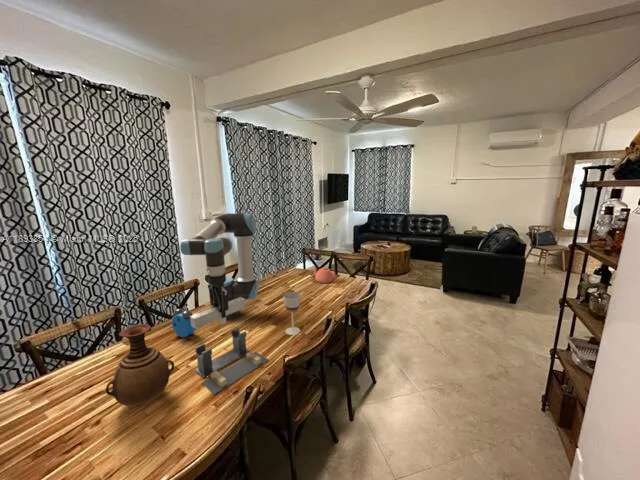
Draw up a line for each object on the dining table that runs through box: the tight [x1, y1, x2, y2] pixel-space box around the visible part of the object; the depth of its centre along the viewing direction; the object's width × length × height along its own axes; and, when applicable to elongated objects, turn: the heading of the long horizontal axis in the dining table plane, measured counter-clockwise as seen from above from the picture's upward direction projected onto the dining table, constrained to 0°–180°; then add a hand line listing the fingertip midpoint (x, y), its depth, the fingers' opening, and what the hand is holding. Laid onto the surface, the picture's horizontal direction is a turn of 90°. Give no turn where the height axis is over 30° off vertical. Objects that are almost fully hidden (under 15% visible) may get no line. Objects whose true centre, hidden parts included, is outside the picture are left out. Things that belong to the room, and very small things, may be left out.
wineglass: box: [282, 291, 302, 336], centre depth 154 cm, size 9×10×22 cm
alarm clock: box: [171, 308, 197, 338], centre depth 150 cm, size 13×6×15 cm, turn 65°
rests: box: [210, 350, 261, 388], centre depth 122 cm, size 8×20×3 cm, turn 140°
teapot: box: [312, 265, 336, 284], centre depth 233 cm, size 22×15×12 cm
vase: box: [105, 323, 175, 407], centre depth 104 cm, size 21×18×30 cm
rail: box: [190, 297, 246, 330], centre depth 124 cm, size 25×4×4 cm, turn 140°
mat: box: [201, 351, 270, 395], centre depth 123 cm, size 10×28×1 cm, turn 140°
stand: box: [194, 327, 250, 379], centre depth 128 cm, size 8×24×12 cm, turn 140°
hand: (220, 321), depth 125 cm, fingers closed on rail, 3 cm apart
